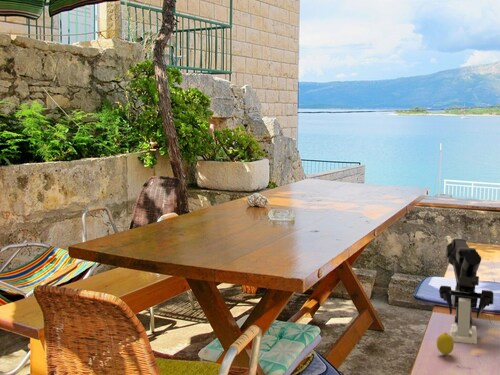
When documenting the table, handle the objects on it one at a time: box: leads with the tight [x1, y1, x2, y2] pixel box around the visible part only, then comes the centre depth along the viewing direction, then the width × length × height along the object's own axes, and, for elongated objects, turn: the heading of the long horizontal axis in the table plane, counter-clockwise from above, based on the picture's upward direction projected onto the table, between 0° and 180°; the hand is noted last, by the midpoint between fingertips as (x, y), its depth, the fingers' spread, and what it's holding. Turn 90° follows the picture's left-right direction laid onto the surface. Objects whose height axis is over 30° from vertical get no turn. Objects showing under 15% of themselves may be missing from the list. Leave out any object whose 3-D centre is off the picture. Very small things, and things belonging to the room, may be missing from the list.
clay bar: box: [457, 298, 471, 337], centre depth 219 cm, size 4×4×13 cm
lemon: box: [436, 332, 455, 356], centre depth 204 cm, size 6×6×8 cm
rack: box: [450, 323, 478, 345], centre depth 219 cm, size 9×9×4 cm
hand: (463, 315), depth 217 cm, fingers open, 9 cm apart
